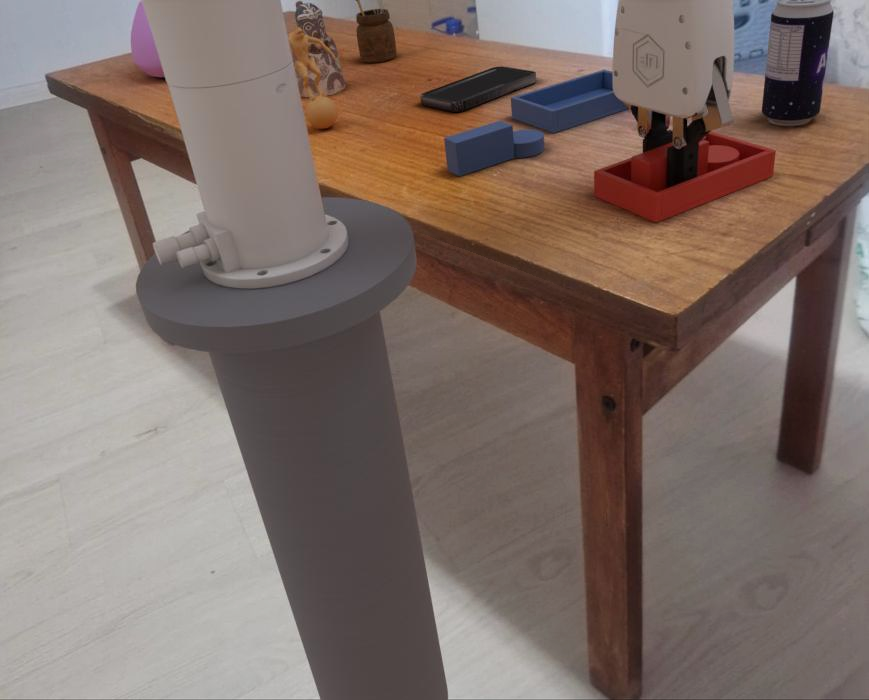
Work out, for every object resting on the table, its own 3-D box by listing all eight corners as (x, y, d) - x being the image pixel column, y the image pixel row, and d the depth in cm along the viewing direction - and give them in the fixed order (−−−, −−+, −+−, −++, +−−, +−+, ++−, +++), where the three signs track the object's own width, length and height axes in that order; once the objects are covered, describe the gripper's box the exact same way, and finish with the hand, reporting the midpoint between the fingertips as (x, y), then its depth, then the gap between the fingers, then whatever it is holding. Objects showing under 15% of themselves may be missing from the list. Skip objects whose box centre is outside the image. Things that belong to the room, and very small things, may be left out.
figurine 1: (303, 101, 115) (284, 11, 109) (291, 90, 121) (273, 4, 114) (351, 90, 117) (335, 1, 110) (337, 79, 123) (322, -6, 116)
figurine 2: (303, 140, 100) (282, 39, 94) (281, 131, 105) (259, 33, 98) (360, 121, 104) (343, 22, 97) (336, 113, 108) (318, 18, 102)
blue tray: (553, 133, 92) (552, 111, 90) (511, 118, 98) (510, 97, 97) (649, 102, 97) (650, 80, 96) (604, 89, 103) (604, 69, 102)
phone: (416, 95, 106) (498, 65, 114) (417, 104, 107) (499, 73, 114) (456, 104, 101) (540, 72, 109) (457, 113, 102) (540, 80, 109)
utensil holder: (383, 64, 127) (371, -19, 121) (351, 63, 130) (338, -18, 124) (404, 54, 131) (394, -27, 125) (373, 53, 134) (361, -26, 128)
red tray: (656, 223, 70) (656, 195, 69) (594, 196, 76) (593, 170, 75) (773, 176, 75) (776, 150, 74) (706, 154, 81) (707, 130, 80)
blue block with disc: (464, 179, 83) (460, 145, 82) (442, 168, 87) (438, 135, 85) (552, 149, 88) (551, 116, 86) (528, 140, 91) (526, 108, 89)
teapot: (287, 56, 140) (269, -31, 132) (170, 91, 129) (143, -3, 121) (227, 43, 155) (208, -36, 147) (118, 73, 144) (91, -11, 136)
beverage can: (819, 128, 84) (836, 4, 77) (759, 128, 86) (772, 7, 79) (818, 110, 88) (834, -9, 81) (761, 110, 90) (773, -6, 83)
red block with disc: (656, 205, 72) (658, 166, 70) (623, 191, 75) (623, 153, 73) (748, 169, 76) (752, 131, 74) (712, 157, 79) (715, 121, 77)
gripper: (575, -36, 69) (580, 170, 79) (719, -21, 57) (704, 220, 67) (642, -53, 72) (640, 149, 82) (794, -42, 60) (769, 193, 70)
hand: (669, 179), depth 74 cm, fingers closed on red block with disc, 2 cm apart
